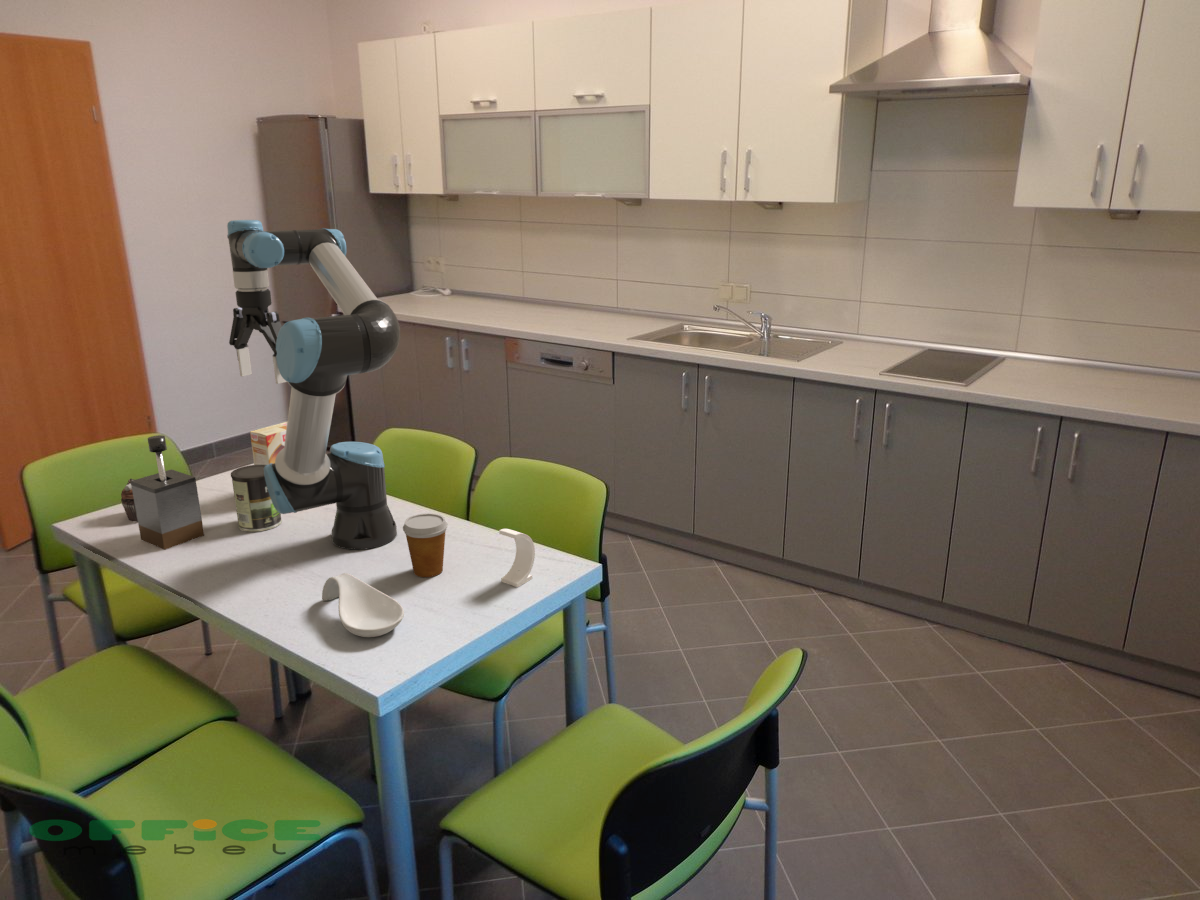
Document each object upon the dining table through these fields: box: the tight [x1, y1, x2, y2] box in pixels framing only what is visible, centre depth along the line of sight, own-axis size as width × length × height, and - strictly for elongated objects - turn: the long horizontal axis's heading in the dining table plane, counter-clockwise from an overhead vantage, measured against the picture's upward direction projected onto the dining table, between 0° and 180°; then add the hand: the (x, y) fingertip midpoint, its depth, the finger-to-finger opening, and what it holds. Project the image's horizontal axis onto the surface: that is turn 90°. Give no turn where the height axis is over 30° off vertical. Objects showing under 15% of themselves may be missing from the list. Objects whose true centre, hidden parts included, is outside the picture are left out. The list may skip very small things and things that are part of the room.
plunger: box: [147, 434, 168, 482], centre depth 201 cm, size 7×7×20 cm
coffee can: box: [230, 464, 283, 533], centre depth 212 cm, size 10×10×14 cm
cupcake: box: [120, 478, 138, 523], centre depth 217 cm, size 10×10×10 cm
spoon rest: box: [321, 572, 405, 638], centre depth 168 cm, size 24×12×7 cm, turn 43°
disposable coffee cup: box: [402, 512, 449, 578], centre depth 187 cm, size 10×10×12 cm
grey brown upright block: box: [131, 468, 205, 551], centre depth 203 cm, size 10×10×15 cm
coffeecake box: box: [249, 421, 287, 465], centre depth 230 cm, size 15×7×20 cm, turn 147°
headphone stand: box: [498, 528, 536, 588], centre depth 183 cm, size 5×6×12 cm
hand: (263, 379), depth 204 cm, fingers open, 13 cm apart
